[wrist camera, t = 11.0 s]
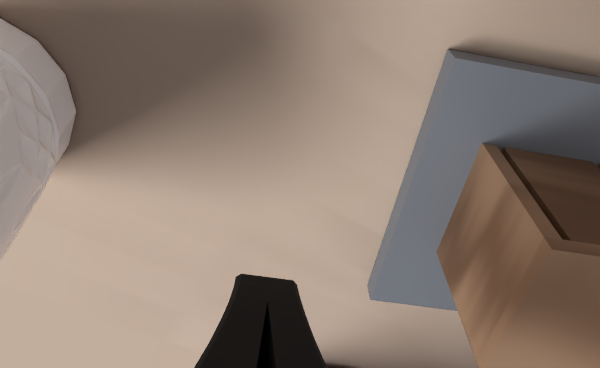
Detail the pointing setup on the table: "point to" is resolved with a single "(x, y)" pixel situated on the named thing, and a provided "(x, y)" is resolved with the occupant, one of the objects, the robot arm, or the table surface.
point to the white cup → (28, 126)
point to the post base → (463, 150)
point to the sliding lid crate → (527, 259)
